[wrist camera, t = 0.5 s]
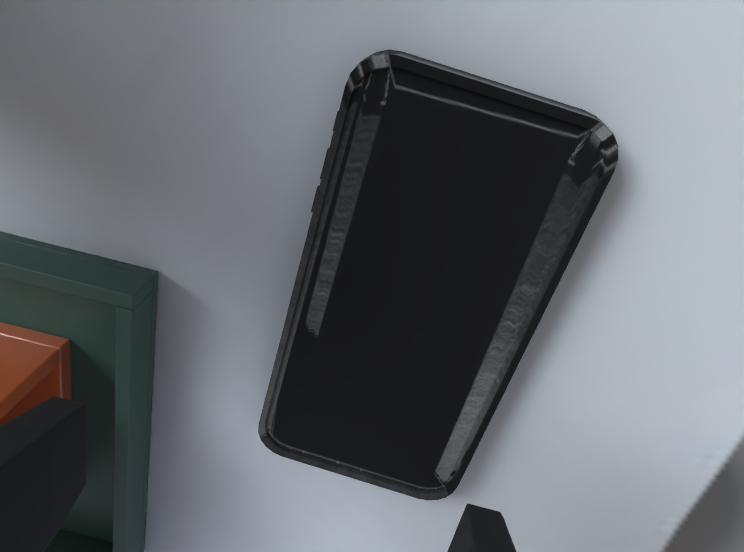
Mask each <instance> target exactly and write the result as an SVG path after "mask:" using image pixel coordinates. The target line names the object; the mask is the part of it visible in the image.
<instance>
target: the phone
mask: <svg viewBox="0 0 744 552" xmlns="http://www.w3.org/2000/svg"><path fill="white" fill-rule="evenodd" d="M333 131H334V132H333V136H332V140H331V144H330V148H328V150H327V153H326V157H325V161H324V165H323V169H322V173H321V177H320V179H321V183H320V186H318V187H317V190H316V194H315V198H314V202H313V206H312V210H311V212H313V214H312V218H311V222H310V226H309V230H308V234H307V238H306V242H305V246H304V250H303V254H302V257H301V261H300V265H299V269H298V273H297V277H296V281H295V285H294V289H293V293H292V297H291V301H290V304H289V308H288V312H287V316H286V320H285V324H284V328H283V332H282V336H281V340H280V344H279V348H278V351H277V355H276V359H275V363H274V367H273V371H272V375H271V379H270V383H269V387H268V391H267V394H266V398H265V402H264V406H263V410H262V414H261V418H260V422H259V430H258V433H259V436H260V438H261V441H262V442H263V443H264V445H265V446H266V447H267V448H268V449H270V450H271V451H272V452H274V453H276V454H278V455H280V456H283V457H286V458H289V459H293V460H296V461H299V462H302V463H305V464H309V465H312V466H315V467H318V468H322V469H325V470H328V471H331V472H334V473H338V474H341V475H344V476H347V477H351V478H354V479H357V480H360V481H363V482H367V483H370V484H373V485H376V486H380V487H383V488H386V489H389V490H392V491H396V492H399V493H402V494H405V495H409V496H412V497H415V498H418V499H424V500H438V499H442V498H445V497H447V496H449V495H450V494H452V493H453V492H454V491H455V489H456V488H457V487H458V485H459V483H460V481H461V479H462V477H463V475H464V473H465V471H466V469H467V467H468V465H469V463H470V461H471V459H472V457H473V455H474V453H475V450H476V448H477V446H478V444H479V442H480V440H481V438H482V436H483V434H484V432H485V430H486V428H487V426H488V424H489V422H490V420H491V418H492V416H493V414H494V412H495V410H496V408H497V406H498V404H499V402H500V400H501V398H502V396H503V394H504V392H505V390H506V388H507V386H508V384H509V382H510V380H511V378H512V376H513V374H514V372H515V370H516V368H517V366H518V364H519V362H520V360H521V358H522V356H523V354H524V352H525V350H526V348H527V346H528V344H529V342H530V340H531V338H532V336H533V334H534V332H535V330H536V328H537V326H538V324H539V322H540V320H541V318H542V316H543V314H544V312H545V310H546V308H547V306H548V304H549V301H550V299H551V297H552V295H553V293H554V291H555V289H556V287H557V285H558V283H559V281H560V279H561V277H562V275H563V273H564V271H565V269H566V267H567V265H568V263H569V261H570V259H571V257H572V255H573V253H574V251H575V249H576V247H577V245H578V243H579V241H580V239H581V237H582V235H583V233H584V231H585V229H586V227H587V225H588V223H589V221H590V219H591V217H592V215H593V213H594V211H595V209H596V207H597V205H598V203H599V201H600V199H601V197H602V195H603V193H604V191H605V189H606V187H607V185H608V183H609V181H610V179H611V177H612V175H613V173H614V170H615V167H616V164H617V161H618V145H617V142H616V139H615V137H614V134H613V133H612V132H611V131H610V129H609V128H608V127H607V126H606V125H605V124H604V123H603V122H602V121H601V120H600V119H598V118H597V117H596V116H594V115H592V114H591V113H589V112H587V111H585V110H582V109H579V108H576V107H573V106H569V105H566V104H563V103H560V102H557V101H554V100H551V99H548V98H545V97H541V96H538V95H535V94H532V93H529V92H526V91H523V90H520V89H517V88H513V87H510V86H507V85H504V84H501V83H498V82H495V81H492V80H489V79H485V78H482V77H479V76H476V75H473V74H470V73H467V72H464V71H461V70H458V69H454V68H451V67H448V66H445V65H442V64H439V63H436V62H433V61H430V60H426V59H423V58H420V57H417V56H414V55H411V54H408V53H405V52H401V51H394V50H385V51H380V52H376V53H374V54H372V55H371V56H369V57H367V58H366V59H364V60H363V61H362V62H360V63H359V64H358V65H357V67H356V68H355V69H354V70H353V71H352V72H351V74H350V76H349V78H348V81H347V83H346V85H345V89H344V93H343V97H342V101H341V105H340V109H339V111H338V112H337V116H336V120H335V124H334V128H333Z"/></svg>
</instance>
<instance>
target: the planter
mask: <svg viewBox="0 0 744 552" xmlns="http://www.w3.org/2000/svg"><path fill="white" fill-rule="evenodd" d="M53 396H56V397H60V398H63V399H67V400H71V401H72V383H71V349H70V339H67V338H63V337H59V336H55V335H51V334H48V333H44V332H40V331H36V330H32V329H28V328H24V327H20V326H16V325H12V324H8V323H4V322H0V426H1V425H3V424H4V423H6V422H8V421H10V420H11V419H13V418H15V417H17V416H19V415H20V414H22V413H24V412H26V411H28V410H29V409H31V408H33V407H35V406H37V405H38V404H40V403H42V402H44V401H46V400H48V399H49V398H51V397H53Z"/></svg>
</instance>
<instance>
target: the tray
mask: <svg viewBox="0 0 744 552" xmlns="http://www.w3.org/2000/svg"><path fill="white" fill-rule="evenodd" d="M157 290H158V271H155V270H151V269H147V268H143V267H139V266H135V265H131V264H127V263H123V262H119V261H115V260H111V259H107V258H103V257H99V256H95V255H91V254H87V253H83V252H79V251H75V250H71V249H67V248H63V247H59V246H55V245H51V244H47V243H43V242H39V241H35V240H31V239H27V238H23V237H19V236H15V235H11V234H7V233H3V232H0V322H4V323H8V324H12V325H16V326H20V327H24V328H28V329H32V330H36V331H40V332H44V333H48V334H51V335H55V336H59V337H63V338H67V339H70V349H71V383H72V401H75V402H79V403H83V404H86V485H85V487H84V488H83V490H82V492H81V494H80V495H79V497H78V499H77V501H76V502H75V504H74V506H73V507H72V509H71V511H70V513H69V514H68V516H67V518H66V519H65V521H64V522H63V524H62V526H61V527H60V529H59V531H58V532H57V534H56V535H55V537H54V538H53V540H52V541H51V542H50V544H49V545H48V546H47V548H46V549H45V550H44V552H144V547H145V527H146V507H147V488H148V468H149V448H150V428H151V408H152V389H153V369H154V349H155V329H156V309H157Z"/></svg>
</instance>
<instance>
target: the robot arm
mask: <svg viewBox="0 0 744 552" xmlns="http://www.w3.org/2000/svg"><path fill="white" fill-rule="evenodd" d="M85 485H86V404H83V403H79V402H75V401H71V400H67V399H63V398H60V397H56V396H53V397H51V398H49V399H48V400H46V401H44V402H42V403H40V404H38V405H37V406H35V407H33V408H31V409H29V410H28V411H26V412H24V413H22V414H20V415H19V416H17V417H15V418H13V419H11V420H10V421H8V422H6V423H4V424H3V425H1V426H0V552H44V550H45V549H46V548H47V546H48V545H49V544H50V542H51V541H52V540H53V538H54V537H55V535H56V534H57V532H58V531H59V529H60V527H61V526H62V524H63V522H64V521H65V519H66V518H67V516H68V514H69V513H70V511H71V509H72V507H73V506H74V504H75V502H76V501H77V499H78V497H79V495H80V494H81V492H82V490H83V488H84V487H85ZM447 552H516V550H515V547H514V544H513V542H512V539H511V537H510V534H509V531H508V529H507V526H506V523H505V520H504V518H503V516H502V515H501V513H500V512H498V511H494V510H490V509H486V508H482V507H479V506H475V505H471V504H467V505H466V508H465V510H464V513H463V515H462V517H461V520H460V522H459V525H458V527H457V530H456V532H455V534H454V537H453V539H452V542H451V544H450V547H449V549H448V551H447Z"/></svg>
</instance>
